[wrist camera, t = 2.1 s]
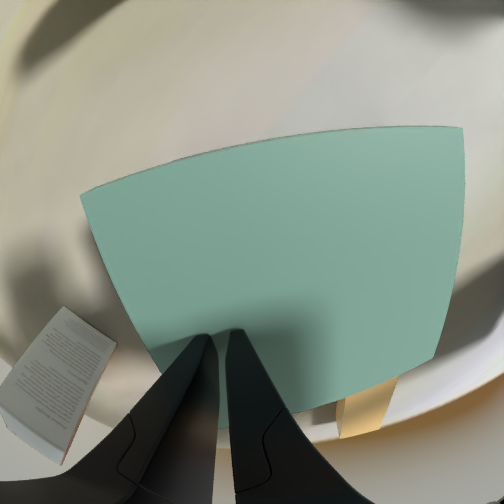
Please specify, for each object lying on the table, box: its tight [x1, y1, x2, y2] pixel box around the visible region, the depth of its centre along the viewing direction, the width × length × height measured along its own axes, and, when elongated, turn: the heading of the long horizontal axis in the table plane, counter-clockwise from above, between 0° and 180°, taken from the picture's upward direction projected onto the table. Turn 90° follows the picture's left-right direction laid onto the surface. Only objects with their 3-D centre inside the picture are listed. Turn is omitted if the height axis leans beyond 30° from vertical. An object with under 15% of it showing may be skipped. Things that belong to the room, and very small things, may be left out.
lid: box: [80, 126, 465, 429], centre depth 8 cm, size 11×10×1 cm
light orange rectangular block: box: [336, 376, 398, 439], centre depth 19 cm, size 4×10×3 cm, turn 11°
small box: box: [0, 306, 117, 466], centre depth 14 cm, size 8×6×10 cm
